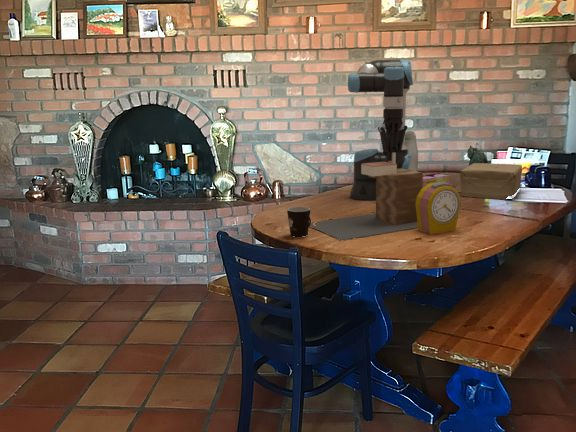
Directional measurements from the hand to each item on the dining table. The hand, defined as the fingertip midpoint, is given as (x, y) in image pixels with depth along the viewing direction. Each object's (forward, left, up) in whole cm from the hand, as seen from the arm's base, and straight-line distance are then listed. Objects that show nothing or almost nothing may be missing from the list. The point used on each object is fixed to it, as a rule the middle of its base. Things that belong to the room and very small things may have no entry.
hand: (391, 168), depth 224 cm
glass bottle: (-72, +67, -22) cm, 101 cm away
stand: (0, +2, -22) cm, 22 cm away
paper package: (-20, +77, -22) cm, 82 cm away
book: (0, -6, -2) cm, 6 cm away
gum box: (-15, +32, -22) cm, 42 cm away
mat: (0, -10, -22) cm, 24 cm away
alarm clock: (+20, +7, -22) cm, 30 cm away
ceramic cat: (-57, +105, -22) cm, 121 cm away
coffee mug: (+1, -42, -22) cm, 48 cm away
